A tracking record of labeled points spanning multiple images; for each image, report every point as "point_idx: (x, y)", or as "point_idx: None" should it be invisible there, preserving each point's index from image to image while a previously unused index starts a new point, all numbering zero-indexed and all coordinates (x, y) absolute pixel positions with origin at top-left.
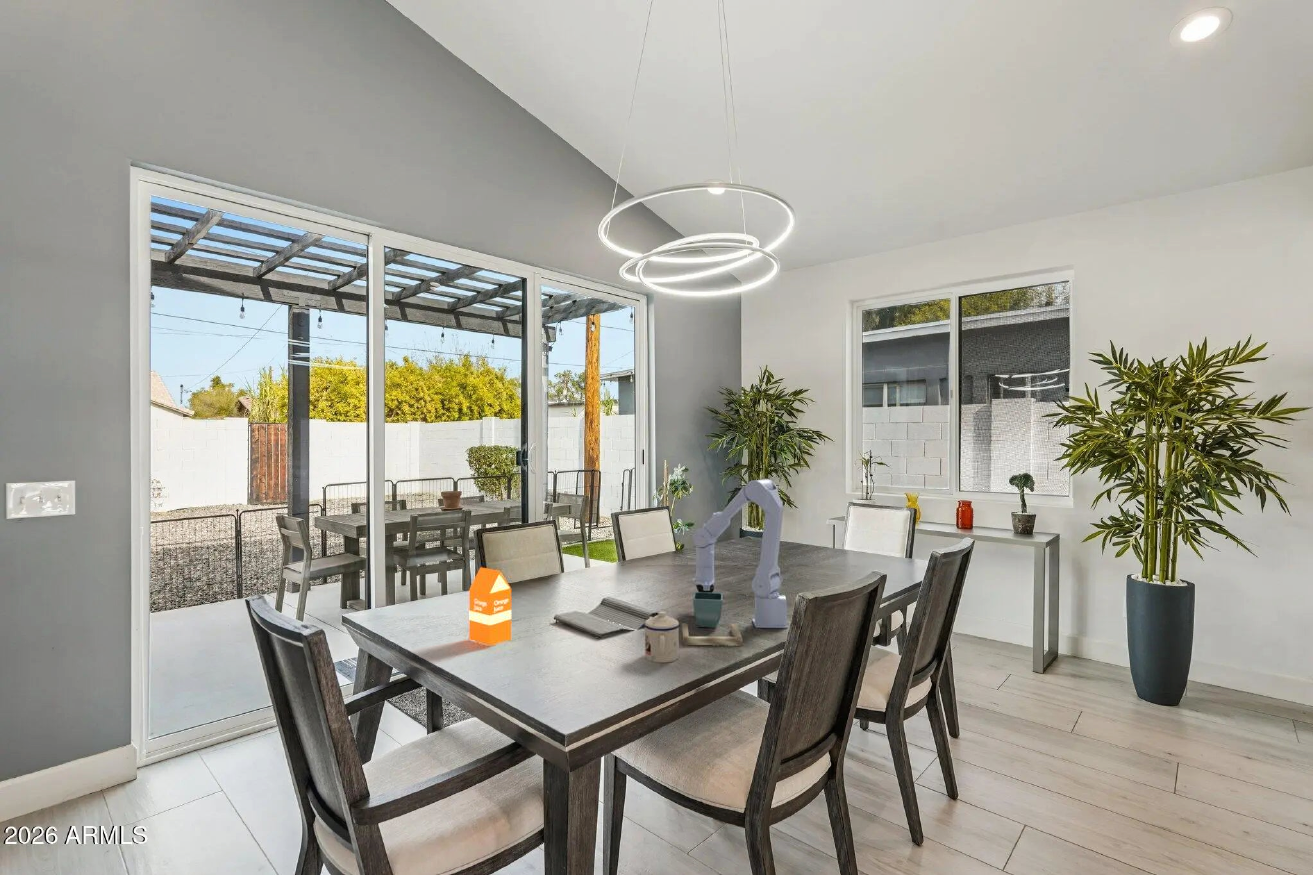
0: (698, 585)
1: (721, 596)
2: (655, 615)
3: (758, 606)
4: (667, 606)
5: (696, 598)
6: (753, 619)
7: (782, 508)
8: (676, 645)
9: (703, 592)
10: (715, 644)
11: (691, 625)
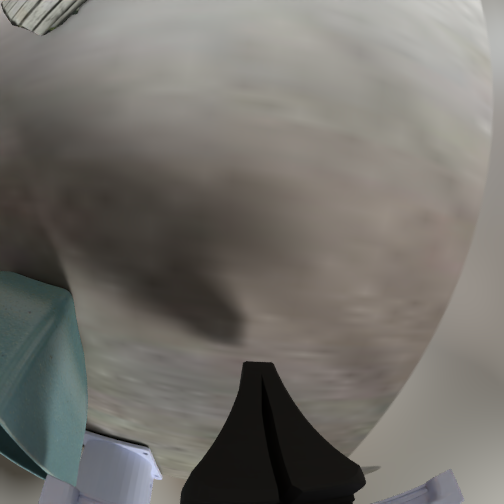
0: (327, 493)
1: (11, 460)
2: (72, 4)
3: (77, 483)
4: (453, 147)
5: (14, 378)
6: (140, 450)
7: None
8: None
9: (26, 453)
10: None
11: (28, 237)
